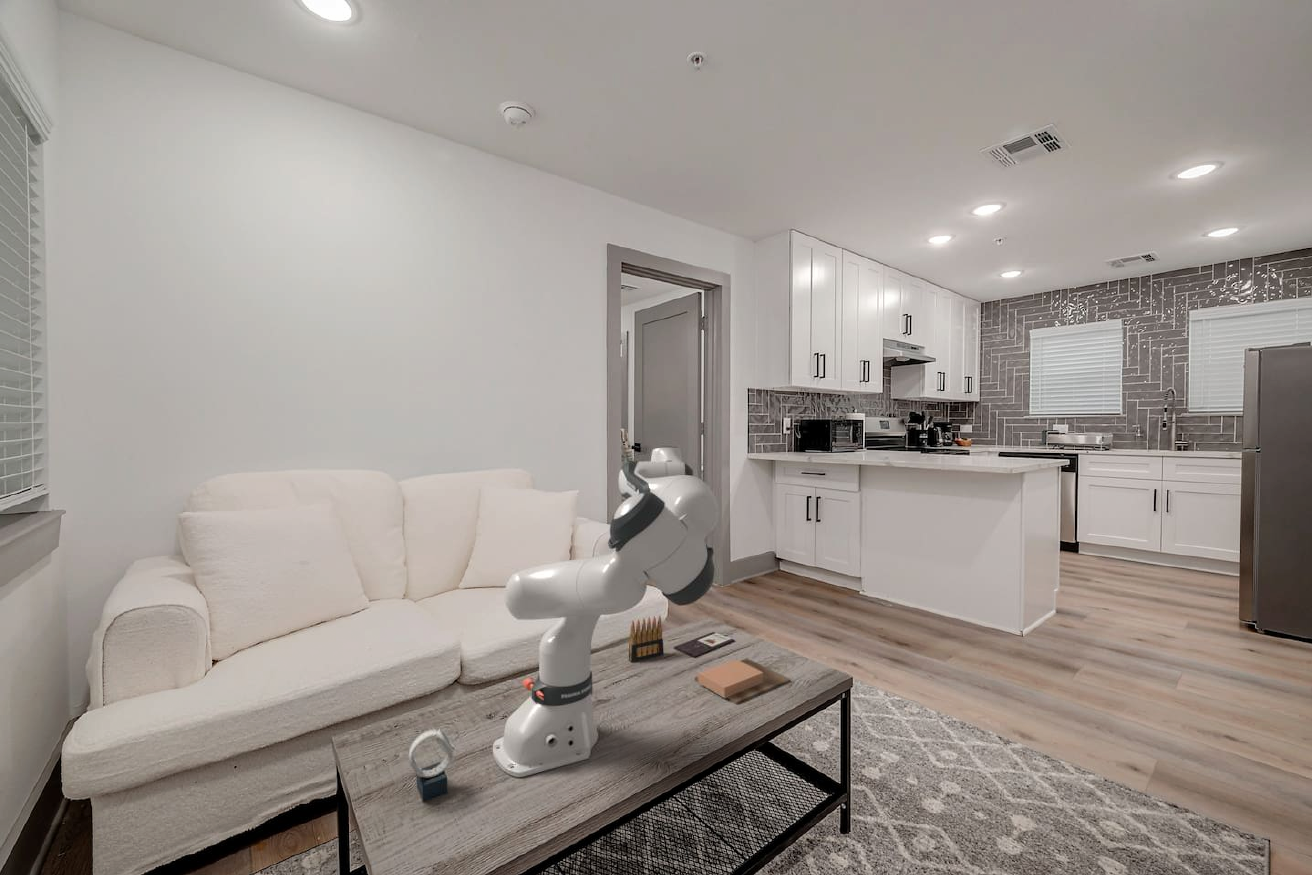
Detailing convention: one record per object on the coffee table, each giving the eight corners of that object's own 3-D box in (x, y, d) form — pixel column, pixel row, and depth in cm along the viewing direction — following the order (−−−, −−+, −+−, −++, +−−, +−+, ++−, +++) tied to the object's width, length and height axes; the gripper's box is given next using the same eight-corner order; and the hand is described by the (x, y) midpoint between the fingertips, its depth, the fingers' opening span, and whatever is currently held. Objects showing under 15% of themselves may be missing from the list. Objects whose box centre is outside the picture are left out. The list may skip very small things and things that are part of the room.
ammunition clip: (660, 653, 165) (660, 613, 165) (663, 655, 163) (663, 615, 163) (628, 660, 160) (628, 619, 160) (631, 662, 158) (631, 621, 158)
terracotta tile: (724, 687, 136) (763, 672, 145) (698, 672, 145) (736, 659, 153) (724, 698, 137) (763, 682, 145) (698, 683, 145) (736, 668, 153)
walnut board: (736, 704, 135) (736, 701, 135) (694, 679, 148) (694, 677, 148) (790, 681, 147) (790, 679, 147) (747, 660, 160) (747, 658, 160)
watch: (458, 789, 104) (457, 732, 104) (412, 806, 100) (411, 746, 99) (450, 773, 109) (449, 719, 108) (406, 789, 104) (405, 732, 104)
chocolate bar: (673, 646, 168) (713, 631, 180) (673, 650, 168) (713, 634, 180) (694, 656, 161) (734, 639, 173) (694, 659, 161) (734, 642, 173)
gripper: (689, 502, 154) (689, 550, 155) (628, 509, 142) (628, 562, 143) (704, 505, 149) (704, 555, 150) (641, 512, 137) (642, 567, 138)
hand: (666, 558), depth 146 cm, fingers closed
